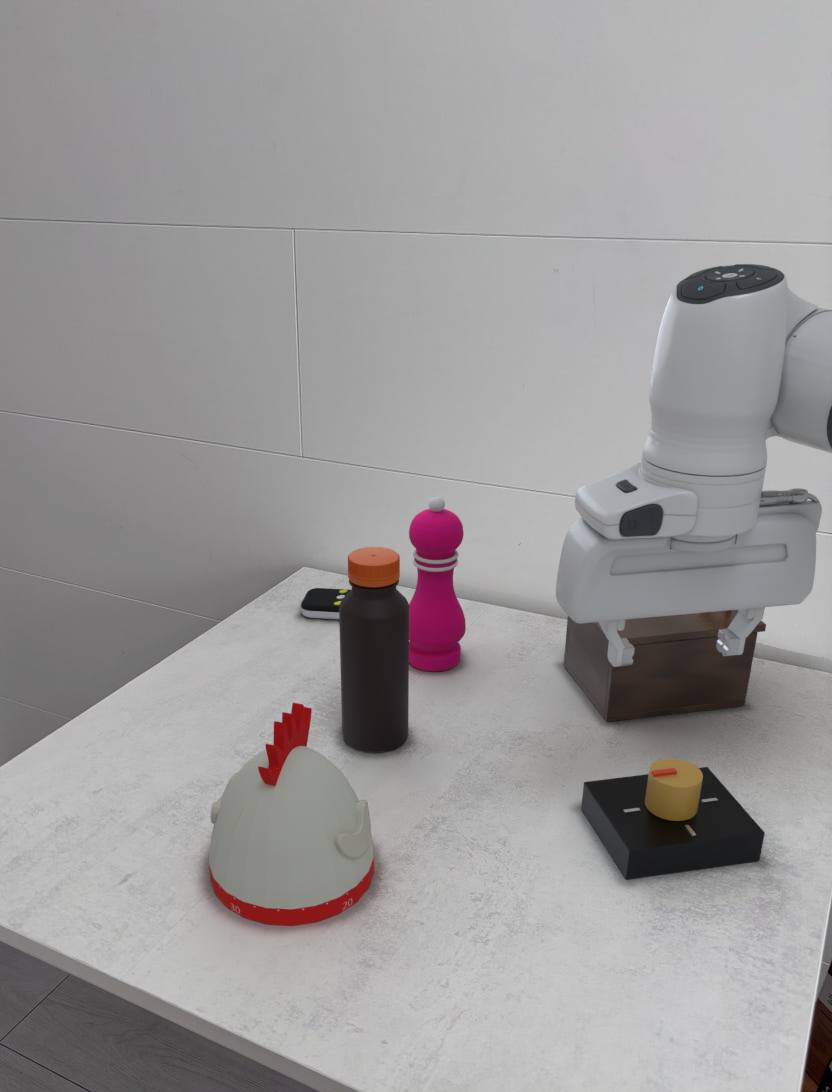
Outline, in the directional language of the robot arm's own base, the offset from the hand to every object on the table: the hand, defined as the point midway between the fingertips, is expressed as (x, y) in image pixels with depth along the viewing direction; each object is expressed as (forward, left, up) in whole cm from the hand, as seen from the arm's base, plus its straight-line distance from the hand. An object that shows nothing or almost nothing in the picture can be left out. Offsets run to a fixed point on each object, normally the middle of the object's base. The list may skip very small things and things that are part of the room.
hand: (674, 657), depth 83 cm
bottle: (+21, -20, -17) cm, 34 cm away
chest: (-11, -24, -17) cm, 31 cm away
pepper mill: (+11, -35, -17) cm, 40 cm away
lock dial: (-1, +1, -14) cm, 14 cm away
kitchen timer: (+32, -1, -17) cm, 36 cm away
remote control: (+18, -50, -17) cm, 56 cm away
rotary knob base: (-1, +1, -17) cm, 17 cm away
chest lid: (-11, -24, -8) cm, 28 cm away
